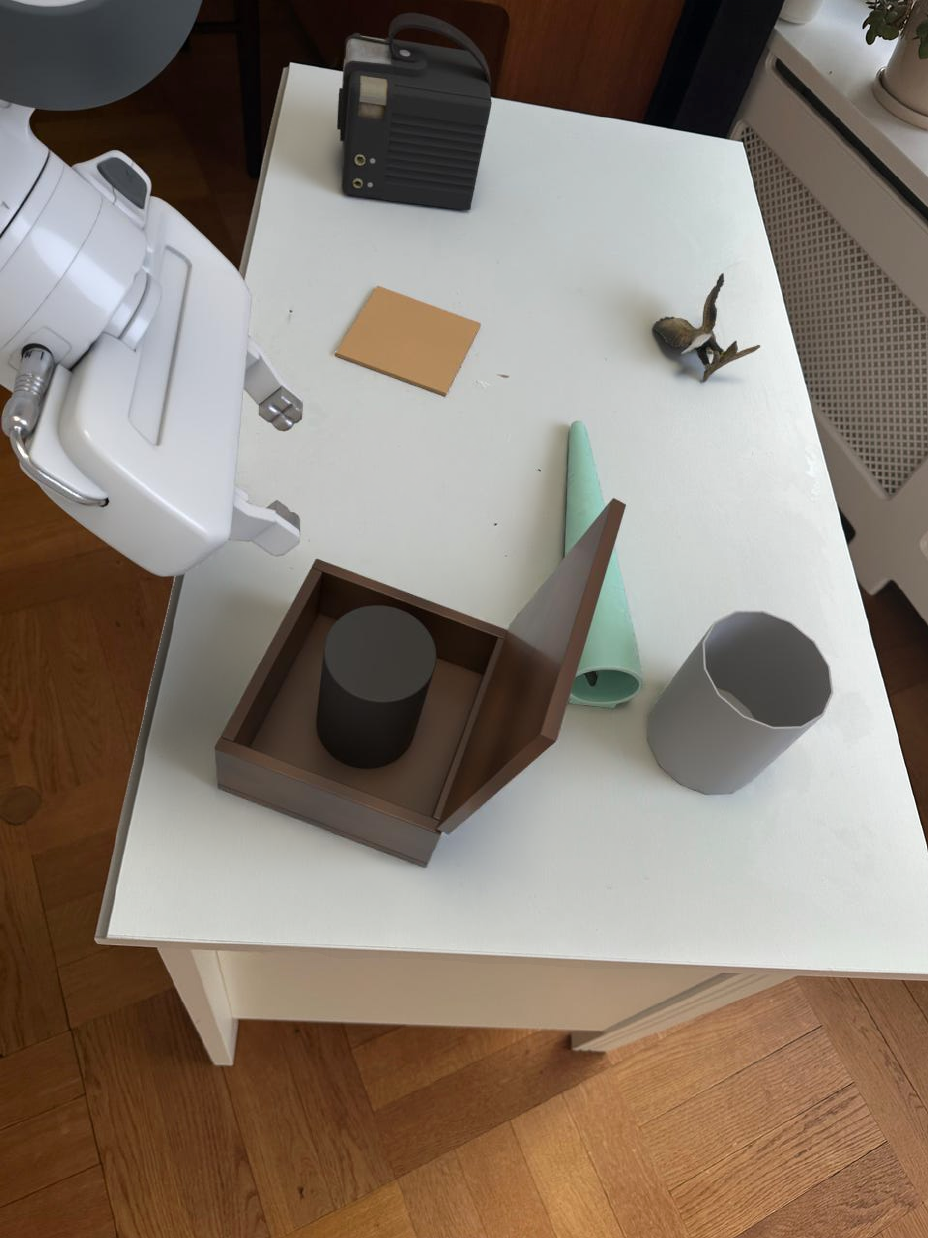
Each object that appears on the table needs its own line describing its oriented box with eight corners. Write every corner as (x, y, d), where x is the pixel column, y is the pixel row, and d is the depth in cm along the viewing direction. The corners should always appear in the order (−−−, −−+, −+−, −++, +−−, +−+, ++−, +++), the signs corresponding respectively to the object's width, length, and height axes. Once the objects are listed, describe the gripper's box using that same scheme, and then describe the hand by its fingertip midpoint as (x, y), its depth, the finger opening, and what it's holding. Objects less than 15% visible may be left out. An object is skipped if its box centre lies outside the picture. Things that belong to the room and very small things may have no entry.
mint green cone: (626, 385, 76) (656, 672, 61) (605, 433, 80) (628, 711, 65) (561, 374, 75) (575, 663, 60) (544, 423, 80) (553, 703, 65)
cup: (734, 818, 62) (806, 755, 54) (627, 750, 64) (681, 679, 56) (777, 726, 67) (849, 656, 59) (676, 665, 68) (733, 587, 60)
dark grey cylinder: (300, 747, 59) (305, 677, 51) (338, 666, 62) (349, 589, 55) (395, 783, 59) (414, 718, 51) (428, 700, 62) (451, 628, 55)
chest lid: (540, 734, 40) (556, 741, 40) (613, 496, 48) (626, 504, 48) (436, 829, 52) (448, 835, 52) (509, 625, 60) (520, 630, 60)
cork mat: (334, 355, 79) (335, 352, 79) (376, 288, 85) (377, 285, 85) (445, 396, 79) (446, 393, 79) (480, 326, 85) (481, 323, 84)
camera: (335, 135, 97) (345, -26, 85) (467, 153, 100) (496, 0, 87) (333, 198, 91) (345, 36, 79) (474, 215, 94) (506, 61, 81)
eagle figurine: (761, 368, 87) (725, 290, 90) (760, 329, 80) (721, 247, 83) (683, 402, 89) (649, 325, 91) (675, 367, 82) (639, 285, 85)
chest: (217, 788, 57) (213, 748, 52) (312, 606, 65) (316, 557, 61) (426, 868, 57) (441, 835, 52) (494, 675, 65) (513, 631, 60)
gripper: (44, 395, 31) (340, 596, 40) (127, 134, 44) (336, 327, 53) (-60, 495, 34) (239, 662, 42) (48, 220, 47) (259, 391, 56)
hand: (293, 474), depth 48 cm, fingers open, 8 cm apart
